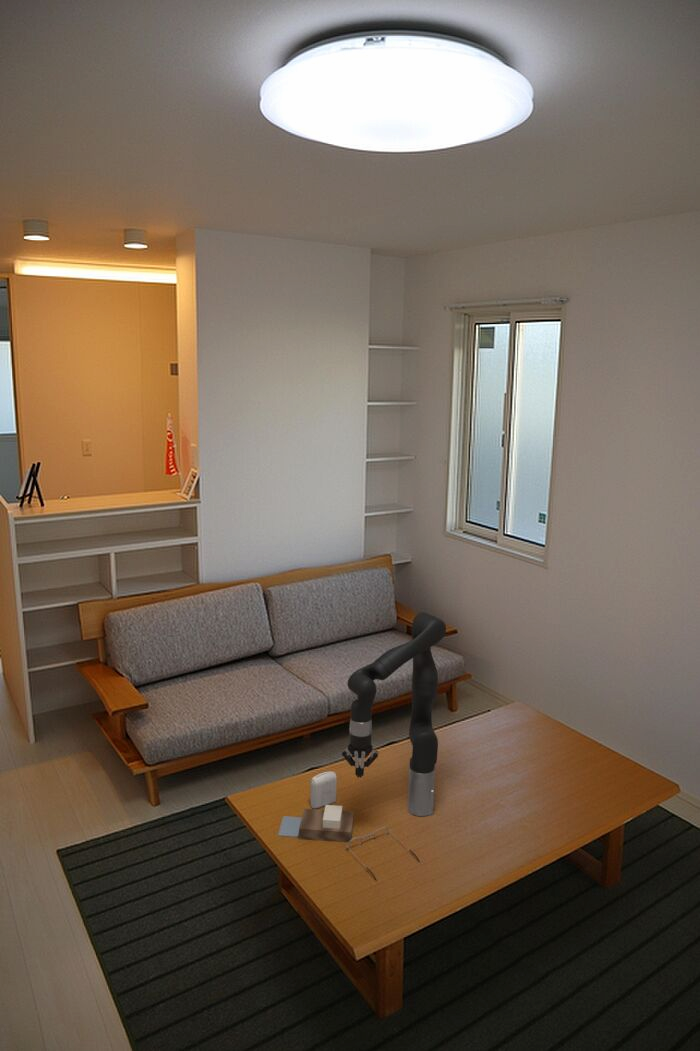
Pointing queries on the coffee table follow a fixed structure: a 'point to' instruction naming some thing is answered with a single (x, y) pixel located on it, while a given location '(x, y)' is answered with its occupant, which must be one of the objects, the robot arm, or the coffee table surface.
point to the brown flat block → (314, 828)
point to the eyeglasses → (376, 838)
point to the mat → (290, 826)
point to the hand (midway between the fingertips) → (359, 776)
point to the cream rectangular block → (332, 816)
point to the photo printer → (323, 789)
